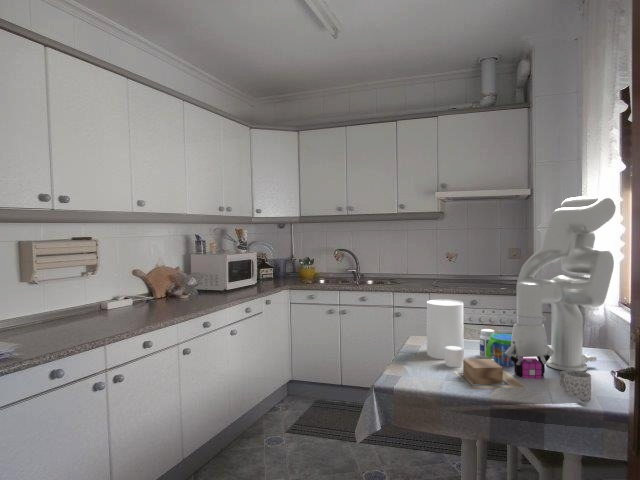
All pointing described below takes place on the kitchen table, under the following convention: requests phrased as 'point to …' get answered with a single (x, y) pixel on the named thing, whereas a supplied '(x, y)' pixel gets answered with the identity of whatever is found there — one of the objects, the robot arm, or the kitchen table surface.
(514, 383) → the board
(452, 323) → the canister
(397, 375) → the kitchen table surface
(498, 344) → the snack cup
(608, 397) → the kitchen table surface
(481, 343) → the pill bottle
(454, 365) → the shot glass
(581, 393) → the mug
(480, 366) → the walnut base block
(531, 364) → the puzzle toy
